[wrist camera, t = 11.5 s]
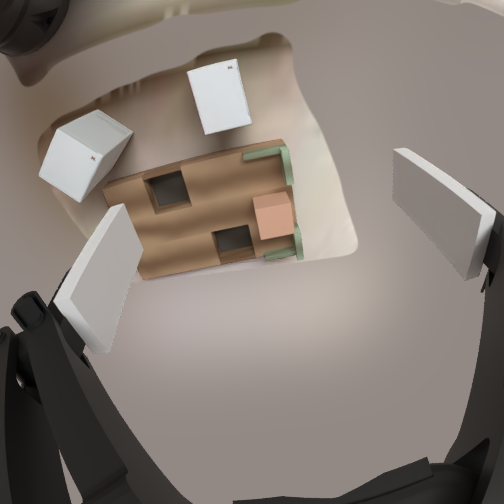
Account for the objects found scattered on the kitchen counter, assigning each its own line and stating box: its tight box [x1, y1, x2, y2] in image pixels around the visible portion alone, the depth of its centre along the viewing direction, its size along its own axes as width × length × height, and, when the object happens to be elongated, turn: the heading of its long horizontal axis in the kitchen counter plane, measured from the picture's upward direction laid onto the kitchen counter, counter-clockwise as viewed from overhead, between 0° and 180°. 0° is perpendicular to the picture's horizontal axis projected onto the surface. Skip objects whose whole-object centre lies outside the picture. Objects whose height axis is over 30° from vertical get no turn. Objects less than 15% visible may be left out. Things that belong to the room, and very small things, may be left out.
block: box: [253, 191, 295, 240], centre depth 45 cm, size 5×5×4 cm
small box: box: [187, 59, 252, 135], centre depth 34 cm, size 8×6×10 cm
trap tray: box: [102, 139, 304, 280], centre depth 46 cm, size 18×28×6 cm, turn 101°
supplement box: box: [39, 110, 134, 203], centre depth 35 cm, size 7×7×13 cm
